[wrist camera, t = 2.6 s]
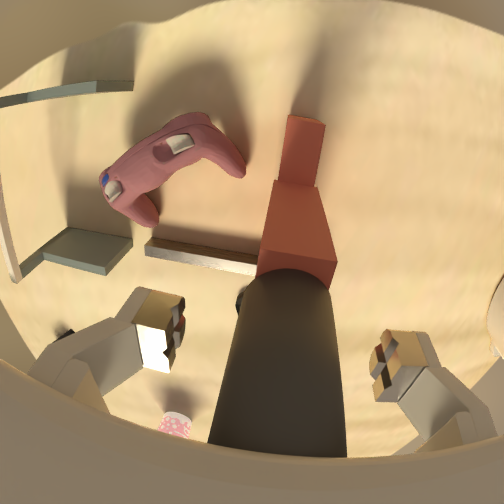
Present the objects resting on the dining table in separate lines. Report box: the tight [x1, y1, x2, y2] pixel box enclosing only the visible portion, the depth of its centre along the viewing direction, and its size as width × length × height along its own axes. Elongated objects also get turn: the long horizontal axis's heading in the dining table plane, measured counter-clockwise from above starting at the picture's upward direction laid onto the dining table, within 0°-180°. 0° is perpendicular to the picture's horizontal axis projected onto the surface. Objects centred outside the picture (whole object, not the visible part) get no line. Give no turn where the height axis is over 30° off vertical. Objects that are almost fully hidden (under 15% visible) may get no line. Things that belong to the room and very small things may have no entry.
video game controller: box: [99, 112, 246, 228], centre depth 19 cm, size 10×5×7 cm, turn 120°
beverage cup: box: [157, 412, 192, 439], centre depth 35 cm, size 6×6×14 cm
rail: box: [144, 237, 258, 276], centre depth 24 cm, size 14×1×3 cm, turn 83°
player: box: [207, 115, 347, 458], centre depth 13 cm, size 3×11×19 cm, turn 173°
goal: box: [0, 81, 133, 284], centre depth 18 cm, size 8×15×9 cm, turn 173°
